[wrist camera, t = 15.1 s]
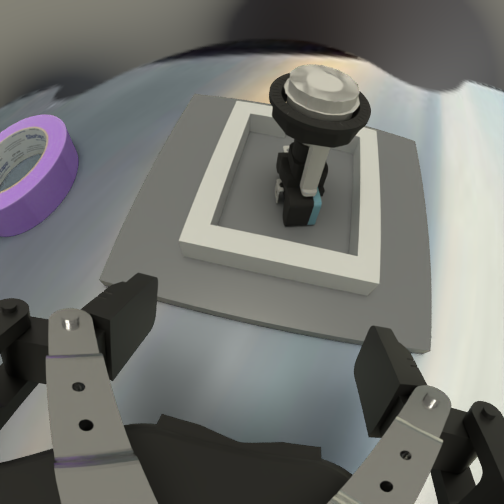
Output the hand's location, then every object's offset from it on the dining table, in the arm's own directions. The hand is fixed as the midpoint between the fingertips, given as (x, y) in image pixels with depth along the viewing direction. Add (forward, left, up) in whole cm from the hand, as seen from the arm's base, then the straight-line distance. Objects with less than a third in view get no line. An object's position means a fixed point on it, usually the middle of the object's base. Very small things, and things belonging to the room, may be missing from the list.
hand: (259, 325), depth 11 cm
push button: (+1, +12, -7) cm, 14 cm away
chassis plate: (0, +12, -8) cm, 15 cm away
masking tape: (-24, +9, -8) cm, 27 cm away
